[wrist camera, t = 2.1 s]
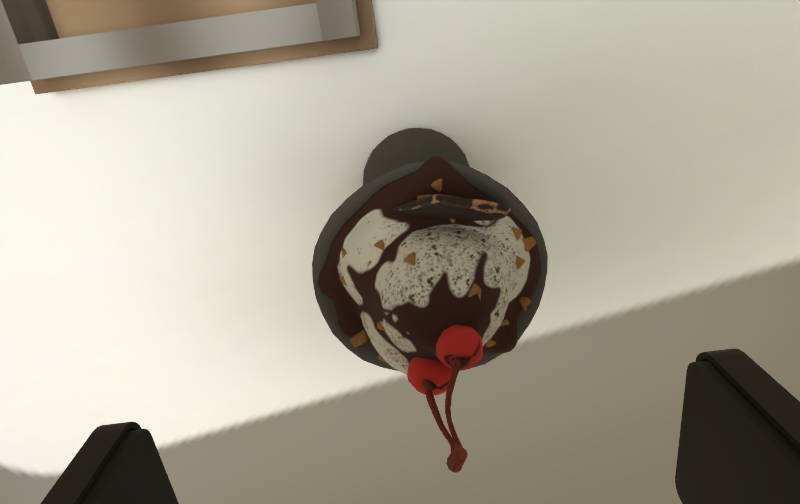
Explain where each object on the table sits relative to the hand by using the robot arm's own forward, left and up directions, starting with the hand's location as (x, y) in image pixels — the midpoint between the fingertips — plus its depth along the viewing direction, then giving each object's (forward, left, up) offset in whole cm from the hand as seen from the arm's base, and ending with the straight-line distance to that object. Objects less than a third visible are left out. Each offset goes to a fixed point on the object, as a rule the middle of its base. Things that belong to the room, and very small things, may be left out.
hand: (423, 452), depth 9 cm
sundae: (-1, 0, -17) cm, 17 cm away
